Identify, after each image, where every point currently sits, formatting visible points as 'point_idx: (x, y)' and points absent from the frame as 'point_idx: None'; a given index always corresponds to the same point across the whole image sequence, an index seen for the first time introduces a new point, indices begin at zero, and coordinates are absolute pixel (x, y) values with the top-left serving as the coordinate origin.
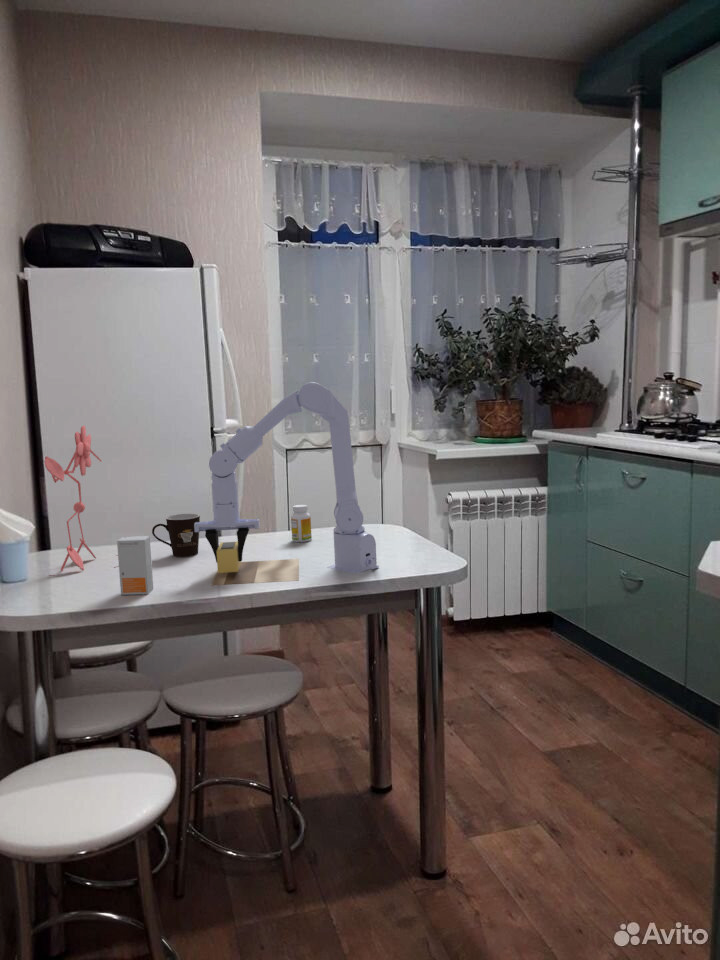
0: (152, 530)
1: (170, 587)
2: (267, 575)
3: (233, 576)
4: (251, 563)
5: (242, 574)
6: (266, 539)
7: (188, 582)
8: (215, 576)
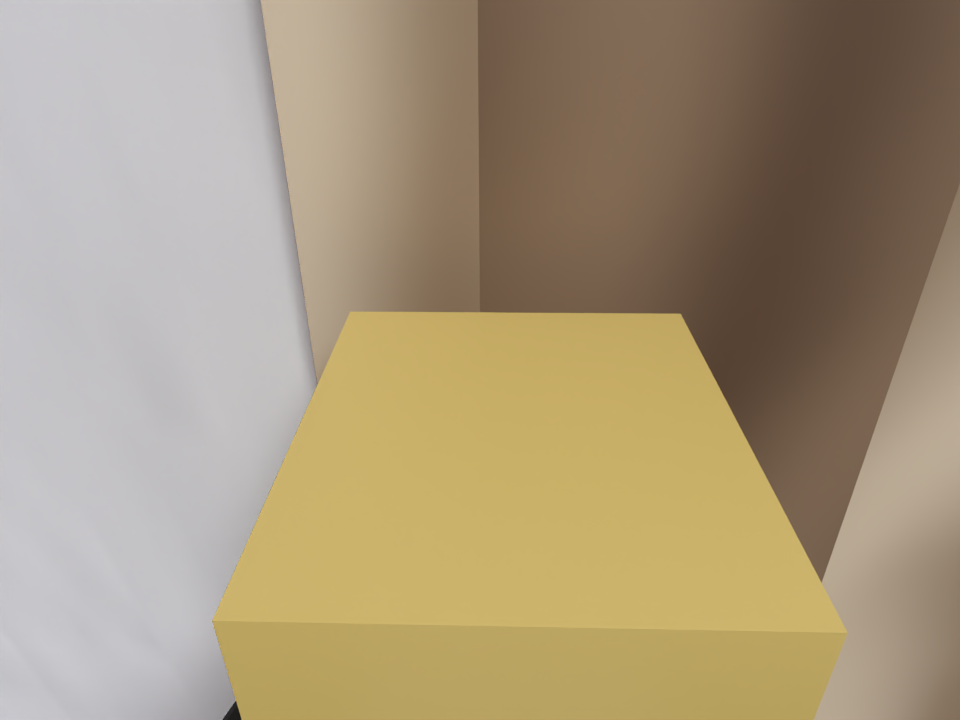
0: None
1: (9, 703)
2: (920, 668)
3: None
4: (873, 21)
5: None
6: None
7: (106, 613)
8: None
